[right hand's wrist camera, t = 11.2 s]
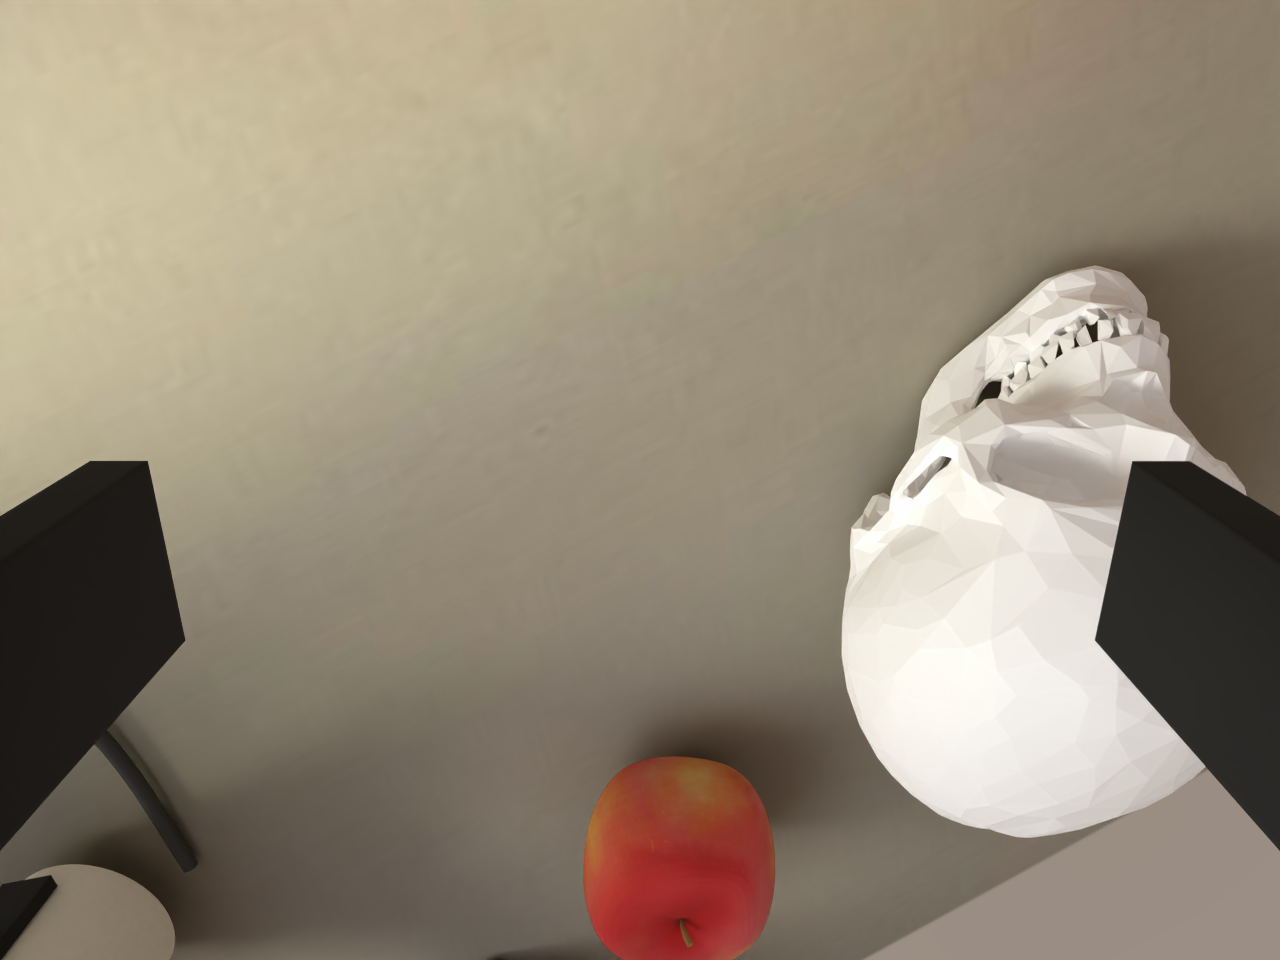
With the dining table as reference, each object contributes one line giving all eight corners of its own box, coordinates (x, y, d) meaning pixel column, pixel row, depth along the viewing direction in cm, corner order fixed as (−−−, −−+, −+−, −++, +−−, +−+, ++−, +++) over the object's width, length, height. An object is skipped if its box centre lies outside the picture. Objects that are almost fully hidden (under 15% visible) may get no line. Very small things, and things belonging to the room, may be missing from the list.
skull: (1222, 286, 39) (1557, 382, 24) (1040, 708, 47) (1209, 975, 32) (921, 221, 38) (1076, 279, 24) (788, 659, 46) (842, 907, 32)
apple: (553, 810, 49) (533, 970, 40) (643, 682, 46) (643, 822, 37) (704, 880, 51) (719, 1049, 42) (800, 760, 48) (838, 913, 39)
